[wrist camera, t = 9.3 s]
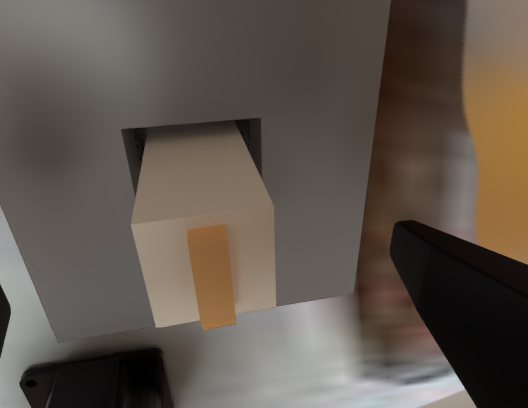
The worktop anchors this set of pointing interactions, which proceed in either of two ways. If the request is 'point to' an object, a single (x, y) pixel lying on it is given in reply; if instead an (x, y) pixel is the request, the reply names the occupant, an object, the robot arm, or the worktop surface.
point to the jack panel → (181, 112)
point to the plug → (203, 226)
